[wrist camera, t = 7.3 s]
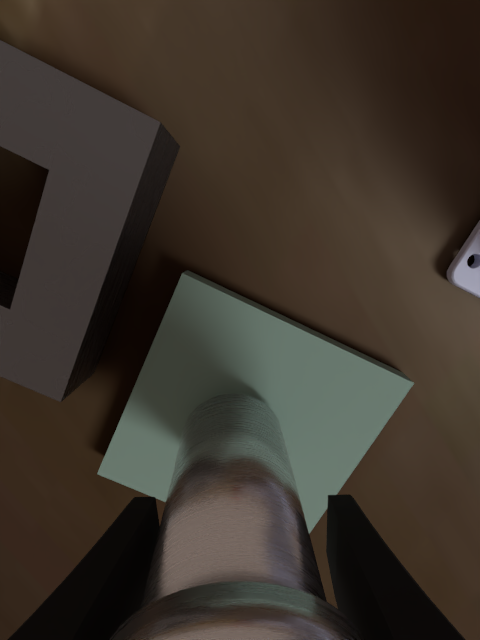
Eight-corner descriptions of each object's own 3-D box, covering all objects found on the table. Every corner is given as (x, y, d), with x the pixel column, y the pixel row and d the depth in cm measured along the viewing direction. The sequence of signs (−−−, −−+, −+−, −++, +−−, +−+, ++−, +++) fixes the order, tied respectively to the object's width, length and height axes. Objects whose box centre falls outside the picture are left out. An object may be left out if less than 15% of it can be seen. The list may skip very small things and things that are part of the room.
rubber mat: (187, 270, 13) (182, 273, 12) (402, 372, 13) (414, 383, 12) (106, 458, 15) (97, 473, 14) (291, 535, 16) (294, 555, 15)
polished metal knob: (159, 388, 12) (28, 684, 4) (291, 375, 12) (405, 644, 4) (179, 494, 13) (109, 864, 5) (297, 482, 13) (391, 834, 6)
